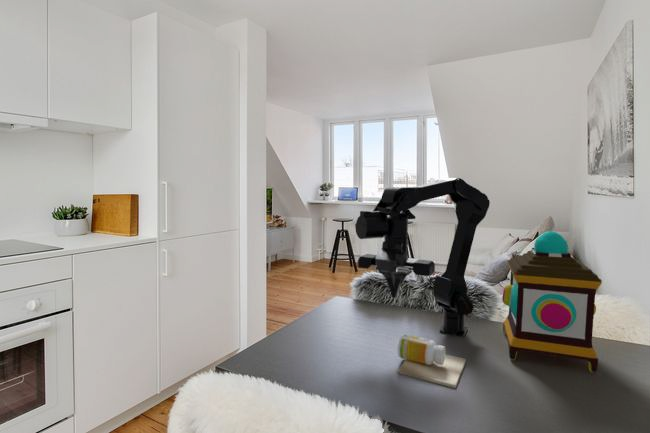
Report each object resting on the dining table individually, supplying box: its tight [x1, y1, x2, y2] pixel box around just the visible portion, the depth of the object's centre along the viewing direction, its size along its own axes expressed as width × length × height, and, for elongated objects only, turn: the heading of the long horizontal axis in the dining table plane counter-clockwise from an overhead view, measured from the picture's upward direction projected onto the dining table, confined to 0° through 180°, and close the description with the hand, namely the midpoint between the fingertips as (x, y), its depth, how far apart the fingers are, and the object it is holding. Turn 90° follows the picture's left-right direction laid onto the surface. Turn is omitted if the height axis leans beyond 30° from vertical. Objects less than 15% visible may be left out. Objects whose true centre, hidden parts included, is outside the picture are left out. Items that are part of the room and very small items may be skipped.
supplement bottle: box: [397, 334, 446, 365], centre depth 84 cm, size 5×5×10 cm
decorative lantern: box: [502, 230, 603, 374], centre depth 90 cm, size 20×20×30 cm
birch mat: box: [397, 354, 467, 389], centre depth 83 cm, size 13×12×1 cm
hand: (394, 297), depth 95 cm, fingers closed
